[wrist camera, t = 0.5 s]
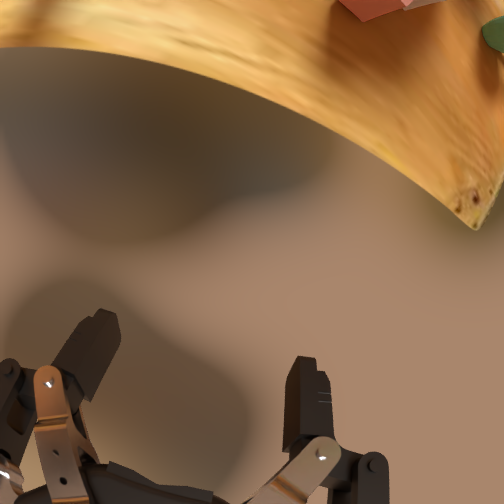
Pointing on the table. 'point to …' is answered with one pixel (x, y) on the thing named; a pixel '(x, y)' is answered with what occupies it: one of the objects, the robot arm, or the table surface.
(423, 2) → the box
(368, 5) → the key
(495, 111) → the table surface
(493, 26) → the mug
